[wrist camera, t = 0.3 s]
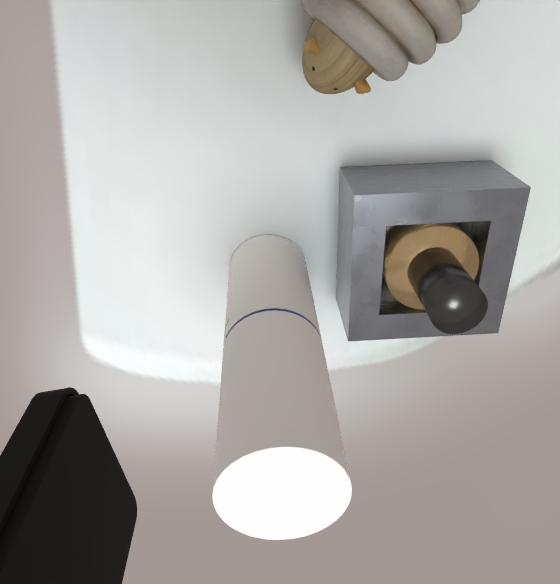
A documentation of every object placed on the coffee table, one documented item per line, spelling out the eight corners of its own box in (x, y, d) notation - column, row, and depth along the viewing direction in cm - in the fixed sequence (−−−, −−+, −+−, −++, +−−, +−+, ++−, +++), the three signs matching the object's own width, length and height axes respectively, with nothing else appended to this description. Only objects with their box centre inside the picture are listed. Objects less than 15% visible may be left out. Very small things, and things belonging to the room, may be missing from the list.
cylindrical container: (321, 261, 48) (380, 482, 26) (276, 314, 50) (296, 554, 29) (258, 219, 45) (265, 425, 24) (214, 278, 48) (185, 510, 26)
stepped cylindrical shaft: (373, 201, 44) (411, 265, 34) (459, 197, 44) (522, 259, 34) (368, 277, 48) (401, 356, 37) (447, 273, 48) (501, 350, 37)
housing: (340, 167, 43) (354, 195, 37) (491, 160, 44) (530, 187, 38) (336, 299, 50) (348, 341, 44) (468, 292, 50) (498, 332, 44)
